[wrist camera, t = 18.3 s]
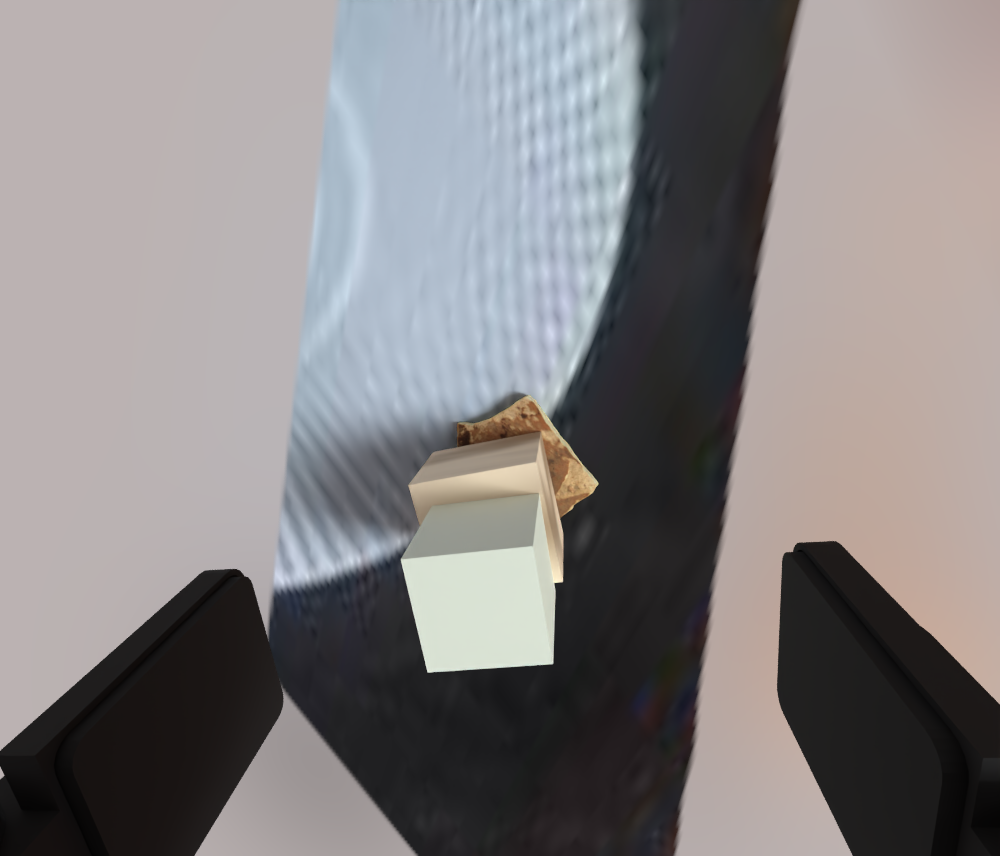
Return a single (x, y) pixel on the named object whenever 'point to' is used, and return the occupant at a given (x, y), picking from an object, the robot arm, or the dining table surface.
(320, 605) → the dining table surface
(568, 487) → the shard
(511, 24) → the dining table surface
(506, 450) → the beige metal block
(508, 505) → the sage block
